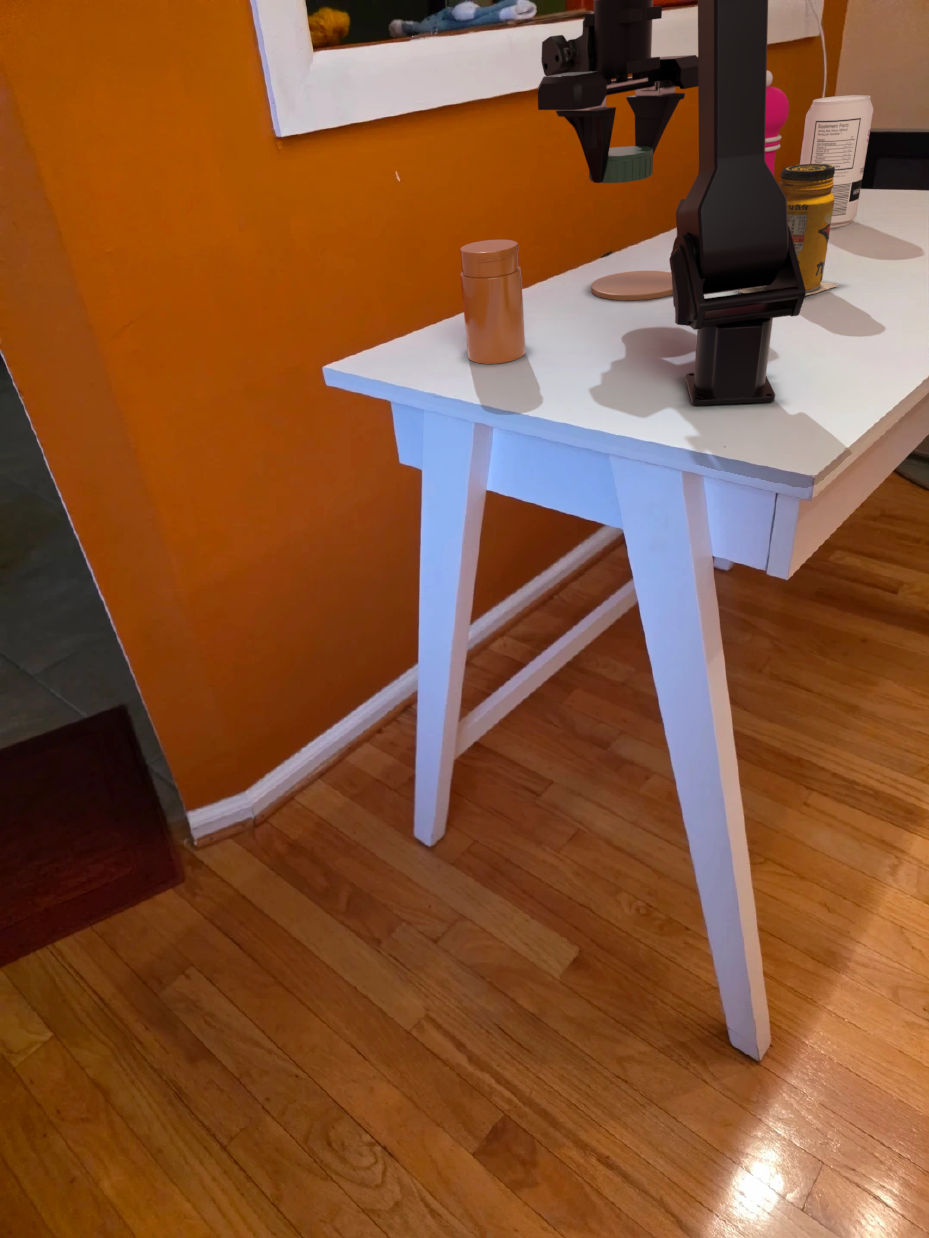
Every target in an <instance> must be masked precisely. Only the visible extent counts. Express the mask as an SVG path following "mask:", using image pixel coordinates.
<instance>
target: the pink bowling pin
mask: <svg viewBox="0 0 929 1238" xmlns="http://www.w3.org/2000/svg"><path fill="white" fill-rule="evenodd" d="M773 80H774V77H773V73H772V72H771V71H770V70H767V81H766V129H765V161H766V164H767V165H768V167H769V169H770V170H771V172H772V174H773V176H774V177H775V160H776V156H777V155H776V154H777V150H780V148H781V142H780V140H781V139H782V135H781V134H779V132H780V131H781V129H782V128H783V126H785V124H786V122H787V120H788V118H789V114H790V113H789V112H790V104H789V103H790V102H789V99H788V97H787V95H786V94H785V92H783V90H782V89H780V88H778V87H775V86H771V84H773Z"/></svg>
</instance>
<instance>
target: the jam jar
mask: <svg viewBox="0 0 929 1238" xmlns="http://www.w3.org/2000/svg"><path fill="white" fill-rule="evenodd" d="M519 251H520V246H519V244H518V242H517V241H515V240H512V239H487V240H480V241H473V242H471V243H467V244H465V245H462V246H461V247H460V250H459V252H460V262H461V272H460V284H461V296H462V307H463V317H464V328H465V338H466V339H465V340H466V349H467V350H466V351H467V358H468V359H469V360H470V362H473V363H477V364H483V365H494V364H495V365H496V364H497V365H498V364H504V363H505V364H506V363H509V362H513V361H516V360H519V359H520V358H522V357H523V356H525V354H526V337H525V319H524V317H525V316H524V302H523V301H524V297H523V279H522V278H523V276H522V267H521V266H520V261H519Z"/></svg>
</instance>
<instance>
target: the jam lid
mask: <svg viewBox="0 0 929 1238" xmlns="http://www.w3.org/2000/svg"><path fill="white" fill-rule="evenodd" d="M653 170H654V154H653V148H651V147H646V146H635V145H628V146H616V147H610V148H609V154H608V160H607V166H606V170H605V174H604V178H603V182H602V183H601V184H621V183H630V182H637V181H642V180H645V179H648V178H650V177H652V175H653V173H654V171H653ZM588 176H589V177H588V179H589V181H590V182H592V183H594V182H593V180H592V177H591V174H590V171H589V170H588Z"/></svg>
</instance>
